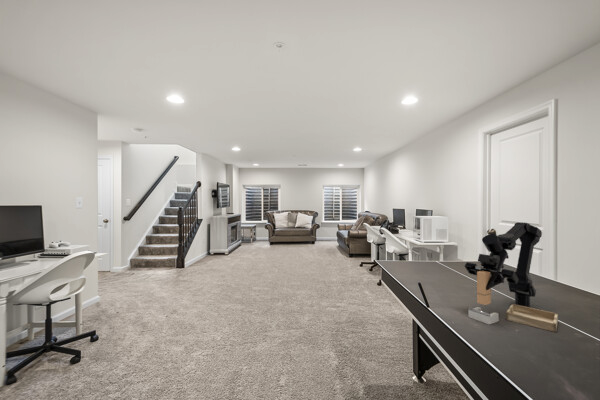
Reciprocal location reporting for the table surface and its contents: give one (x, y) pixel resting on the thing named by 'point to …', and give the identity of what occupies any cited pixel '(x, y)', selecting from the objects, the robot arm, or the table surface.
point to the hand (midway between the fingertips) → (482, 288)
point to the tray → (532, 317)
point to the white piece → (483, 315)
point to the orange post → (483, 287)
